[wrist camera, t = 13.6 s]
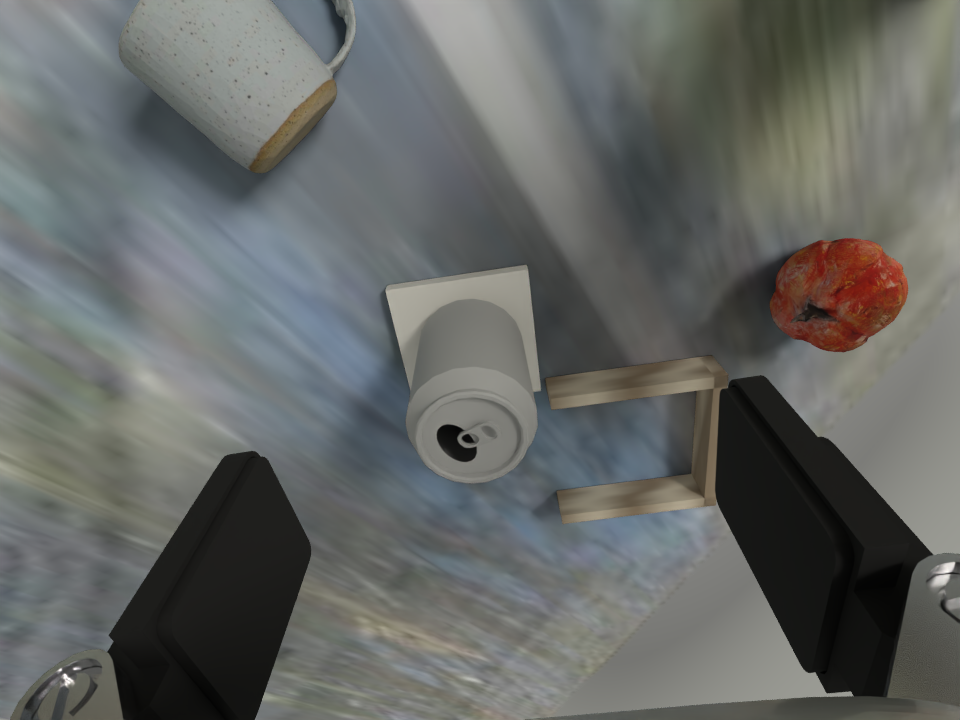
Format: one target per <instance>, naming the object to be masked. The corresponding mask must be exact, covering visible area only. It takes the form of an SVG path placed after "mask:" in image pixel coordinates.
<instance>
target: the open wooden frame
mask: <svg viewBox="0 0 960 720" xmlns="http://www.w3.org/2000/svg"><path fill="white" fill-rule="evenodd" d="M545 381H546V389H547V394H548V398H549V402H550V406H551V410H555V409H563V408H570V407H578V406H585V405H593V404H600V403H608V402H615V401H623V400H630V399H638V398H645V397H653V396H660V395H668V394H675V393H683V392H690V391H696V407H695V422H694V438H693V453H692V469H691V474H686V475H678V476H670V477H662V478H654V479H646V480H638V481H630V482H622V483H614V484H606V485H598V486H590V487H582V488H574V489H567V490H559V491H557V499H558V504H559V509H560V514H561V518H562V523H563V524H566V523H574V522H583V521H591V520H599V519H607V518H615V517H623V516H632V515H640V514H648V513H656V512H664V511H673V510H681V509H689V508H697V507H705V506H714V505H716V494H715V477H716V456H717V436H718V415H719V395H720V391H721V389H724V388H727V385H728V374H727V373H726V372H725V370H724V369H723V368H722V367H721V366H720V364H719V363H718V362H717V361H716V360H715V359H714V357H713V356H712V355H710V356H703V357H695V358H688V359H681V360H673V361H666V362H659V363H651V364H644V365H637V366H629V367H622V368H615V369H608V370H600V371H593V372H586V373H578V374H571V375H564V376H556V377H549V378H545Z"/></svg>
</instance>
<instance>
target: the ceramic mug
mask: <svg viewBox="0 0 960 720" xmlns="http://www.w3.org/2000/svg"><path fill="white" fill-rule="evenodd" d="M332 2H333V3H334V5H335V7H336V12H337V14H338V15H339V16H340V17H341V18H343V19H344V21H345V23H346V35H345V43H344V45H343V46H342V48H341V49H340V51H339V52H338V54H337V55H336V57H335V58H334V59H333V60H332V61H331V62H330V63H328V64H324V63H323V62H322V60H321V59H320V58H319V56H318V55H317V54H316V53H315V52H314V50H313V49H312V48H311V47H310V46H309V45H308V43H307V42H306V41H305V40H304V39H303V38H302V37H301V36H300V35H299V34H298V33H297V32H296V30H295V29H294V28H293V27H292V26H291V24H290V23H289V22H288V21H287V19H286V18H285V17H284V16H283V14H282V13H281V12H280V11H279V9H278V8H277V7H276V6H275V5H274V4H273V2H272V1H271V0H140V1H139V2H138V4H137V6H136V7H135V9H134V11H133V12H132V14H131V16H130V18H129V20H128V21H127V23H126V25H125V26H124V29H123V31H122V34H121V36H120V40H119V56H120V59H121V61H122V63H123V64H124V66H125V67H126V68H127V69H128V70H129V71H130V72H132V73H133V74H134V75H135V76H137V77H138V78H139V79H140V80H141V81H142V82H143V83H145V84H146V85H147V86H148V87H150V88H151V89H152V90H153V91H154V92H155V93H156V94H158V95H159V96H160V97H161V98H162V99H163V100H164V101H165V102H167V103H168V104H169V105H170V106H171V107H172V108H173V109H175V110H176V111H177V112H178V113H179V114H180V115H182V116H183V117H184V118H185V119H186V120H187V121H189V122H190V123H191V124H192V125H194V126H195V127H196V128H197V129H198V130H199V131H201V132H202V133H203V134H204V135H205V136H207V137H208V138H209V139H210V140H211V141H212V142H213V143H214V144H215V145H216V146H218V147H219V148H220V149H221V150H222V151H223V152H224V153H225V154H227V155H228V156H229V157H230V158H232V159H233V160H234V161H236V162H237V163H239V164H240V165H242V166H243V167H245V168H246V169H248V170H250V171H252V172H254V173H266V172H268V171H270V170H271V169H272V168H274V167H275V166H276V165H277V164H278V163H279V162H280V161H281V160H282V159H283V158H284V157H285V156H287V155H288V154H289V152H290V151H291V150H292V149H293V148H294V147H295V146H296V145H297V144H298V143H299V142H300V141H301V140H302V139H303V138H304V137H305V136H306V135H307V134H308V133H309V132H310V130H311V129H312V128H313V127H314V126H315V125H316V124H317V122H318V121H319V120H320V119H321V118H322V117H323V116H324V114H325V113H326V112H327V111H328V109H329V108H330V107H331V106H332V104H333V103H334V101H335V99H336V95H337V87H336V83H335V81H334V79H333V74H334V73H335V72H336V71H337V70H339V68H340V67H341V66H342V64H343V62H344V61H345V59H346V57H347V55H348V54H349V52H350V49H351V47H352V44H353V42H354V38H355V32H356V17H355V11H354V6H353V2H352V0H332Z"/></svg>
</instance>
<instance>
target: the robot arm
mask: <svg viewBox="0 0 960 720" xmlns="http://www.w3.org/2000/svg"><path fill="white" fill-rule="evenodd" d="M715 494H716V499H717V503H718V505H719V508H720V510H721V512H722V514H723V516H724V518H725V519H726V521H727V523H728V525H729V527H730V529H731V531H732V533H733V535H734V537H735V539H736V541H737V543H738V545H739V546H740V548H741V550H742V552H743V554H744V556H745V558H746V560H747V562H748V564H749V566H750V568H751V570H752V572H753V574H754V576H755V577H756V579H757V581H758V583H759V585H760V587H761V589H762V591H763V593H764V595H765V597H766V599H767V601H768V603H769V605H770V606H771V608H772V610H773V612H774V614H775V616H776V618H777V620H778V622H779V624H780V626H781V628H782V630H783V632H784V634H785V635H786V637H787V639H788V641H789V643H790V645H791V647H792V649H793V651H794V653H795V655H796V657H797V658H798V660H799V662H800V664H801V666H802V667H803V669H804V670H805V671H806V672H808V673H813V672H816V674H817V676H818V678H819V680H820V682H821V684H822V685H823V687H824V689H825V691H826V693H836V692H848V691H851V692H852V694H853V696H852V697H806V698H791V699H777V700H761V701H747V702H732V703H718V704H702V705H690V706H680V707H667V708H657V709H656V708H655V709H644V710H632V711H620V712H608V713H596V714H585V715H574V716H561V717H549V718H538V719H527V720H960V554H952V553H943V554H937V555H933V554H932V553H931V552H930V551H929V550H928V549H927V548H926V546H925V545H924V544H923V543H922V542H921V541H920V540H919V538H918V537H917V536H916V535H915V534H914V533H913V532H912V531H911V530H910V528H909V527H908V526H907V525H906V524H905V523H904V522H903V520H902V519H900V517H899V516H898V515H897V514H896V513H895V512H894V510H893V509H892V508H891V507H890V506H889V505H888V504H887V503H886V501H885V500H884V499H883V498H882V497H881V496H880V495H879V494H878V493H877V491H876V490H875V489H874V488H873V487H872V486H871V485H870V484H869V482H868V481H867V480H866V479H865V478H864V477H863V476H862V475H861V474H860V472H859V471H858V470H857V469H856V468H855V467H854V466H853V465H852V464H851V462H850V461H849V460H848V459H847V458H846V457H845V456H844V454H843V453H842V452H841V451H840V450H839V449H838V448H837V447H836V446H835V445H834V444H833V443H832V442H831V441H830V440H829V439H827V438H824V437H817V436H816V435H815V433H814V432H813V431H812V430H811V429H810V428H809V427H808V425H807V424H806V423H805V422H804V421H803V420H802V418H801V417H800V416H799V415H798V414H797V413H796V412H795V410H794V409H793V408H792V407H791V406H790V405H789V403H788V402H787V401H786V400H785V399H784V398H783V397H782V395H781V394H780V393H779V392H778V391H777V390H776V388H775V387H774V386H773V385H772V384H771V383H770V382H769V380H768V379H767V378H766V377H764V376H761V375H760V376H754V377H747V378H740V379H734V380H731V381H730V382H729V385H728V388H724V389H721V391H720V395H719V415H718V436H717V456H716V477H715ZM310 557H311V546H310V542H309V540H308V538H307V536H306V534H305V532H304V530H303V528H302V526H301V524H300V522H299V520H298V518H297V516H296V514H295V512H294V510H293V508H292V506H291V504H290V502H289V500H288V498H287V496H286V494H285V492H284V490H283V488H282V487H281V485H280V483H279V481H278V479H277V477H276V475H275V473H274V471H273V469H272V467H271V465H270V463H269V461H268V460H267V458H265V457H260V455H259V454H258V453H257V452H255V451H249V452H243V453H236V454H229V455H226V456H225V457H224V458H223V459H222V460H221V462H220V463H219V465H218V466H217V468H216V469H215V471H214V472H213V474H212V476H211V477H210V479H209V480H208V482H207V483H206V485H205V486H204V488H203V490H202V491H201V493H200V494H199V496H198V497H197V499H196V500H195V502H194V504H193V505H192V507H191V508H190V510H189V511H188V513H187V514H186V516H185V518H184V519H183V521H182V522H181V524H180V525H179V527H178V528H177V530H176V532H175V533H174V535H173V536H172V538H171V539H170V541H169V542H168V544H167V546H166V547H165V549H164V550H163V552H162V553H161V555H160V556H159V558H158V560H157V561H156V563H155V564H154V566H153V567H152V569H151V570H150V572H149V574H148V575H147V577H146V578H145V580H144V581H143V583H142V584H141V586H140V588H139V589H138V591H137V592H136V594H135V595H134V597H133V598H132V600H131V602H130V603H129V605H128V606H127V608H126V609H125V611H124V612H123V614H122V616H121V617H120V619H119V620H118V622H117V623H116V625H115V626H114V628H113V630H112V631H111V633H110V634H109V636H110V638H111V639H112V640H113V641H114V642H113V644H112V645H111V647H110V649H109V650H108V652H105V651H103V650H101V649H94V650H86V651H83V652H80V653H77V654H74V655H72V656H70V657H69V658H67V659H65V660H63V661H61V662H59V663H58V664H57V665H55V666H54V667H53V668H51V669H50V670H49V671H47V672H46V673H44V674H43V675H42V676H41V677H40V678H39V679H38V680H37V681H36V682H35V683H34V684H33V685H32V686H31V687H30V688H29V689H28V691H27V692H26V693H25V695H24V696H23V697H22V698H21V700H20V701H19V702H18V704H17V706H16V708H15V710H14V712H13V714H12V716H11V718H10V720H255V718H256V715H257V713H258V710H259V707H260V704H261V701H262V698H263V695H264V692H265V689H266V686H267V684H268V681H269V678H270V675H271V672H272V669H273V666H274V663H275V660H276V657H277V654H278V651H279V648H280V646H281V643H282V640H283V637H284V634H285V631H286V628H287V625H288V622H289V619H290V616H291V613H292V611H293V608H294V605H295V602H296V599H297V596H298V593H299V590H300V587H301V584H302V581H303V578H304V575H305V573H306V570H307V567H308V564H309V561H310Z"/></svg>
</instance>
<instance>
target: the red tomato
mask: <svg viewBox="0 0 960 720" xmlns="http://www.w3.org/2000/svg"><path fill="white" fill-rule="evenodd" d="M907 294H908V284H907V278H906V277H905V275H904V273H903V267H902V265H901V264H900V263H898V262H897V261H896V260H894V259H893V258H891V257H889V256H887V255H886V254H885V253H884V252H883V249H882V248H881V246H880V245H878V244H876V243H874V242H871V241H868V240H861V239H854V238H850V239H848V238H845V239H839V240H835V241H823V240H821V241H817V242H815V243H813V244H810V245H808V246H806V247H805V248H803V249H801V250H800V251H798V252H797V253H795V254H794V255H792V256H791V257H790V258H789V259H788V260H787V261H786V262H785V264H784V265H783V266H782V267H781V269H780V270H779V272H778V274H777V277H776V291H775V292H774V294H773V296H772V298H771V300H770V311H771V315H772V318H773V320H774V322H775V323H776V325H777V326H778V327H779V328H780V329H781V330H782V331H783V332H784V333H786V334H787V335H789V336H790V337H792V338H793V339H798V340H804V341H807V342H809V343H811V344H812V345H814V346H816V347H818V348H820V349H822V350H826V351H833V352H846V351H850V350H853V349H855V348H857V347H859V346H861V345H863V344H864V343H865V342H866V341H867V339H868V337H870V336H872V335H874V334H876V333H877V332H879V331H880V330H881V329H883V328H885V327H886V326H887V325H889V324H890V323H891V322H892V321H894V319H895V318H896V317H897V315H898V314H899V312H900V310H901V309H902V307H903V305H904V304H905V302H906V298H907Z"/></svg>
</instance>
